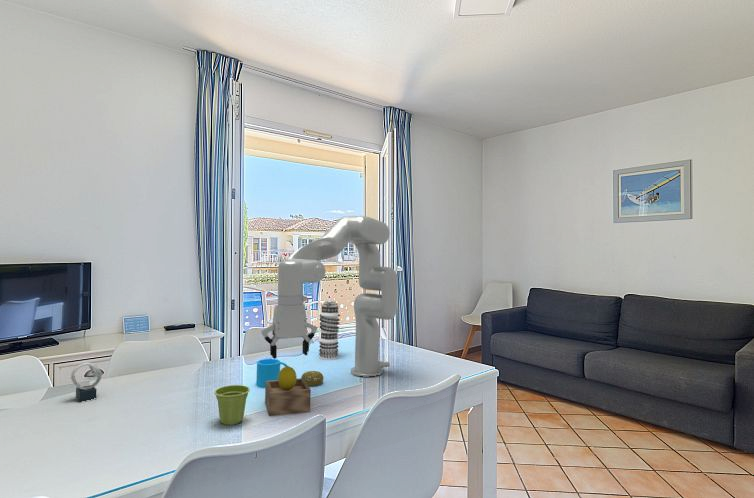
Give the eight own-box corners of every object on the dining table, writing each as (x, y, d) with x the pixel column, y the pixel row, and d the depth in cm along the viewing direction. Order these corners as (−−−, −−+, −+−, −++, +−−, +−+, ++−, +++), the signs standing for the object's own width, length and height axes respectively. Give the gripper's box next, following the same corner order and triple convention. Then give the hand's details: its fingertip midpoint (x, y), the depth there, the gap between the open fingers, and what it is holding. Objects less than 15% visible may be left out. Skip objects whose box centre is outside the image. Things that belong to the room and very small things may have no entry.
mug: (262, 389, 146) (262, 365, 146) (252, 383, 152) (253, 360, 152) (293, 383, 154) (294, 360, 154) (283, 377, 160) (283, 356, 160)
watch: (103, 397, 134) (104, 362, 134) (72, 403, 129) (73, 367, 129) (98, 393, 138) (100, 359, 138) (68, 398, 132) (69, 363, 132)
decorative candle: (321, 354, 197) (322, 300, 197) (340, 355, 196) (342, 301, 196) (315, 359, 188) (317, 302, 188) (336, 360, 187) (337, 303, 187)
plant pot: (214, 430, 113) (215, 397, 113) (212, 417, 122) (213, 386, 122) (250, 425, 117) (251, 393, 117) (246, 412, 125) (247, 383, 125)
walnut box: (302, 399, 139) (303, 378, 139) (310, 413, 127) (310, 389, 127) (264, 403, 135) (265, 381, 135) (269, 417, 123) (269, 393, 123)
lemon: (279, 388, 134) (279, 363, 133) (297, 388, 134) (297, 362, 134) (276, 395, 128) (276, 368, 128) (295, 394, 128) (295, 368, 128)
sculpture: (321, 369, 159) (325, 375, 152) (321, 379, 159) (325, 386, 152) (300, 370, 157) (302, 376, 149) (299, 381, 157) (302, 388, 149)
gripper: (313, 297, 138) (313, 350, 139) (259, 300, 131) (259, 355, 131) (321, 301, 132) (320, 356, 132) (264, 304, 124) (263, 362, 124)
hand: (289, 355), depth 132 cm, fingers open, 9 cm apart
